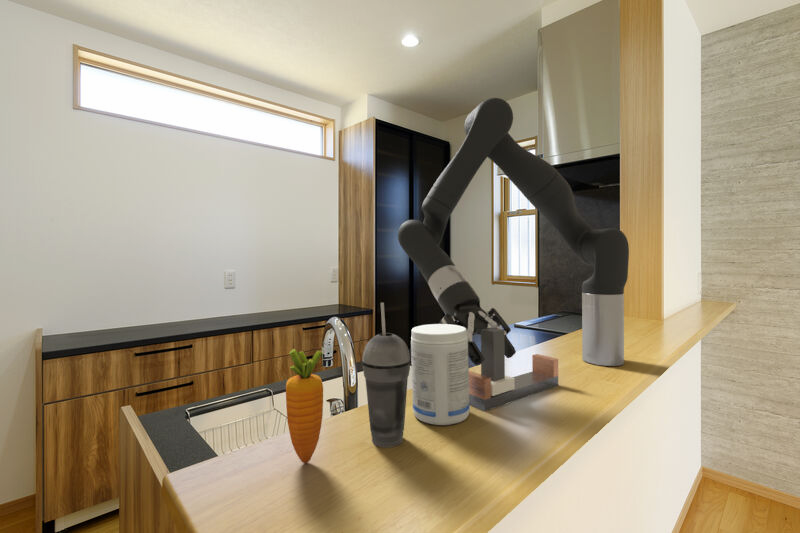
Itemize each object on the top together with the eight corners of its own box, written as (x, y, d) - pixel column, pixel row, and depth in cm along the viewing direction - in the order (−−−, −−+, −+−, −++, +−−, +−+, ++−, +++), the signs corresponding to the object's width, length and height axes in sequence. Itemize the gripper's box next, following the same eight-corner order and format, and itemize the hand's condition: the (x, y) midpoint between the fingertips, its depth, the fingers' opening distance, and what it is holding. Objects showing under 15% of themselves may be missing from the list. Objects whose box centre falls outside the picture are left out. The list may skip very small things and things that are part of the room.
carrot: (329, 454, 51) (328, 344, 50) (318, 475, 46) (316, 353, 45) (294, 452, 51) (292, 343, 51) (279, 473, 46) (277, 352, 46)
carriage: (493, 381, 73) (492, 325, 73) (514, 389, 69) (514, 329, 69) (471, 388, 69) (471, 329, 69) (492, 396, 65) (492, 333, 65)
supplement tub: (463, 403, 68) (462, 322, 68) (475, 426, 58) (474, 333, 58) (410, 404, 68) (409, 323, 67) (413, 428, 58) (412, 334, 58)
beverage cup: (374, 457, 50) (372, 307, 49) (355, 435, 56) (353, 302, 56) (421, 444, 53) (420, 303, 53) (398, 424, 59) (396, 299, 59)
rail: (537, 379, 81) (536, 354, 81) (558, 385, 77) (558, 358, 77) (464, 402, 68) (463, 372, 68) (484, 411, 64) (484, 379, 64)
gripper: (434, 281, 71) (480, 353, 62) (486, 278, 79) (533, 341, 70) (418, 306, 75) (458, 377, 66) (468, 301, 84) (510, 363, 74)
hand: (496, 359), depth 68 cm, fingers open, 8 cm apart
